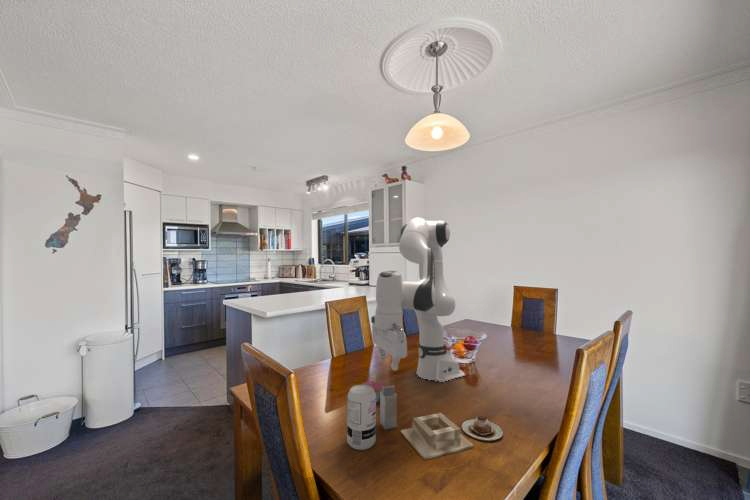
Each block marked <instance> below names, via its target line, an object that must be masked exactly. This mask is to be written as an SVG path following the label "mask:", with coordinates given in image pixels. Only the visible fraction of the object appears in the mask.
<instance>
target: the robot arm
mask: <svg viewBox="0 0 750 500" xmlns="http://www.w3.org/2000/svg"><path fill="white" fill-rule="evenodd" d="M450 236H451V229H450V226H449V224H448V223H447V222H446V221H444V220H426V219H424V218H421V217H415V218H411V219H410V220H409V221H408V223H406V224H404V225H403V226H402V227H401V228H400V239H399V243H398V244H399V245H398V248H399V249H398V250H399V252H400V254H401V256H402V258H403V257H404V259H405V260H407V261H409V262H410V263H414V264H417V265H418V277H419V280H417V281H416V280H414V281H413V280H403V278H402V272H400V271H397V270H386V271H381V272H380V273H378V276H377V280H376V288H375V301H376V308H375V314H374V315H373V316H371V317H370V322H371V324H372V325H371V326H372V327H371V330H372V331H371V334H372V335H371V336H372V342H373V344H374V345H376V346H377V350H378V354H379V360H380V361H381V362H385V361H387V355H386V353H388V354H389V355H390V356H391V359H392V361H391V363H390V369H391V370H393V371H398V370H399V364H400V361H401V359H406V358H407V356H408V342H407V335H406V334H407V333H405V332H404V330H403V326H404V325H403V321H404V320H403V314H404V311H403V310H405V309H406V310H413V311H414V313H415V315H416V318H417V322H418V327H419V331H418V332H419V343H418V361H417V362H418V363H417V367H416V373H415V375H416V374H417V375H418V376H419V377H421V378H420V379H422V378H423V379H422V380H425V379H428V380H427V381H430V380H435V381H434V382H437V381H439V382H438V383H441V382H443V383H446V382H445V381H447V382H449V381H448V380H450V381H452V380H451V379H454V378H458V377H461V378H463V377H462V376H466V374H465V372H464V371H463V370H461V369H460V365H459V361H458V359H456V358H455V357H453V356H452V355H451V354H450V353H449V352H448V351H451V350H452V347H451V346H450V345H446V344H444V342H445V341H444V339H445V336H444V335H445V333H444V332H445V331H444V326H443V324H441V322H440V320H439V318H438V317H448V316H450V315H451V316H452V314H453V313H454V311H455V308H456V300H455V298H454V297H453V296H452V294H451V293H450V292H449V290H448V287H447V285H446V282H445V278H444V262H443V261H444V260H443V249H442V248H443V247H444V246H445V245H446V244H447V243H448V242H449V241H450ZM417 375H416V376H417ZM418 376H417V377H418ZM419 377H418V378H419ZM458 379H459V378H458ZM454 380H455V379H454Z"/></svg>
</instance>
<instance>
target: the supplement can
mask: <svg viewBox="0 0 750 500" xmlns="http://www.w3.org/2000/svg"><path fill="white" fill-rule="evenodd" d="M346 404H347V406H346V407H347V413H346V414H347V417H346V426H347V427H346V442H347V444H348V445H349V446H350V447H351V448H352V449H354V450H358V451H364V450H365V451H366V450H368V449H370V448H372V447H373V446H374V445H375V444H376V442H377V441H376V438H377V436H376V433H377V431H376V430H377V428H376V427H377V425H376V424H377V417H376V416H377V402H376V393H375V391H374V388H373V387H371V386H369V385H362V384H356V385H353V386H351V387H350V388H349V391H348V393H347V403H346Z"/></svg>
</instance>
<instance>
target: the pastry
mask: <svg viewBox="0 0 750 500" xmlns="http://www.w3.org/2000/svg"><path fill="white" fill-rule="evenodd" d="M461 429H462V431H463V432H464V433H465V434H466V435H467V436H470V437H472V438H473V439H475V440H477V441H478V440H479V441H483V442H491V441H497V440H498V439H501V438H502V437H503V435H504V432H503V429H501V427H500V426H499V425H497V424H495V423H494V422H491V421H490V420H488V418H487V416H485V415H482V414H479V415H477V417H476V418H475V419H467V420H465V421H464V422H462V424H461ZM469 429H470V430H471V431H473V432H474V433H476V434H478V435H480V436H477V435H476V434H472V432H470V430H469ZM493 432H494V433H495V434H494V436H492V437H487V438H486V437H481V436H488V435H490V434H492V433H493Z"/></svg>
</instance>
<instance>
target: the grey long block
mask: <svg viewBox="0 0 750 500" xmlns="http://www.w3.org/2000/svg"><path fill="white" fill-rule="evenodd" d="M395 390H396V388H395V385H394V384H393V385H388V386H387V385H386V386H383V387H382V392H380V397H379V400H380V401H379V402H380V403H379V404H380V405H379V407H380V408H379V424H380V425H381V427H382V428H383V429H384V430H386V431H387V430H389V429H395V428H398V427H397V423H398V422H397V417H398V415H397V414H398V413H397V412H398V411H397V409H398V404H397V403H398V396H397V395H398V394H396V391H395Z"/></svg>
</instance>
